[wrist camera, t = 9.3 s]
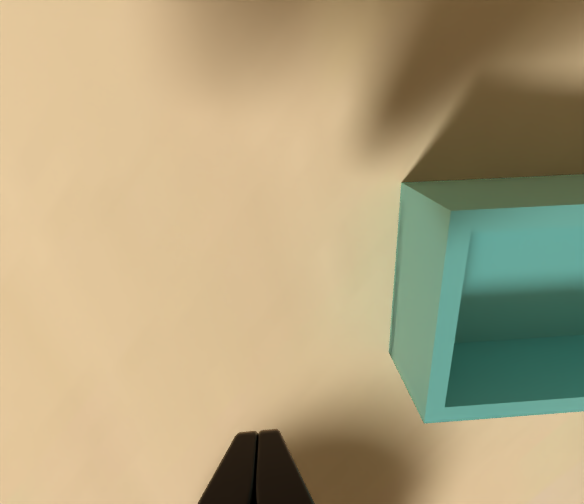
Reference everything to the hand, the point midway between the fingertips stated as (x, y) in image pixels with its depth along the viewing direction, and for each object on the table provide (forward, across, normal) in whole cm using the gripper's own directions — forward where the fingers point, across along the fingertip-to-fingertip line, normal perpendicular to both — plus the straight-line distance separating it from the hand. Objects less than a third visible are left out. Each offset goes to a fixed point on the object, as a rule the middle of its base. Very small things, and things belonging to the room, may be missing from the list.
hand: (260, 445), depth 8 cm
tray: (+7, -11, 0) cm, 13 cm away
